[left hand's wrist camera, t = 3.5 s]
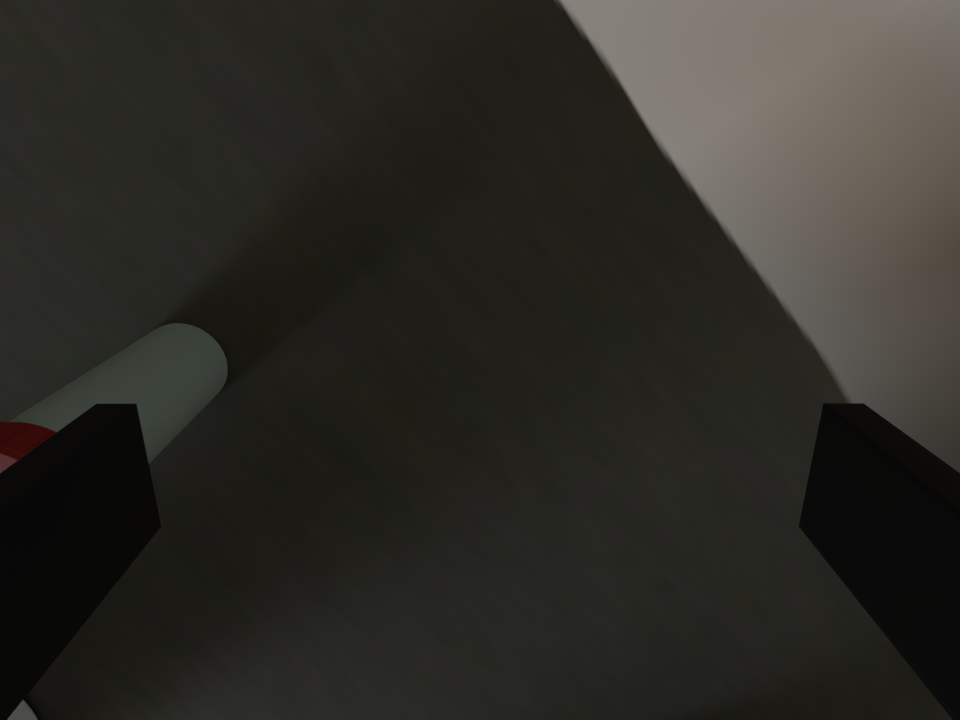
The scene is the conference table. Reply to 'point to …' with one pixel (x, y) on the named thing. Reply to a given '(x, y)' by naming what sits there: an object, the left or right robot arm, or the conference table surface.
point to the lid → (19, 441)
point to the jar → (145, 384)
